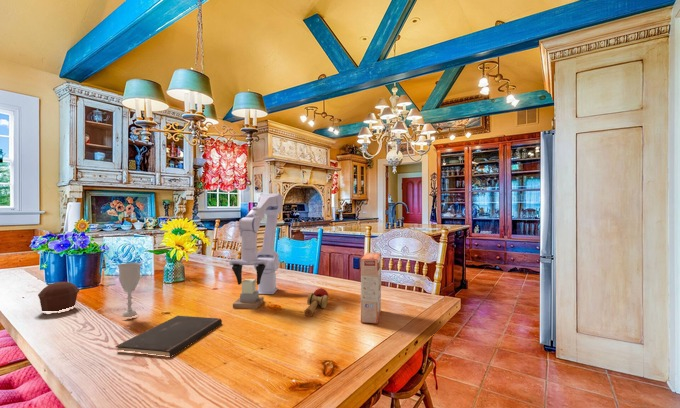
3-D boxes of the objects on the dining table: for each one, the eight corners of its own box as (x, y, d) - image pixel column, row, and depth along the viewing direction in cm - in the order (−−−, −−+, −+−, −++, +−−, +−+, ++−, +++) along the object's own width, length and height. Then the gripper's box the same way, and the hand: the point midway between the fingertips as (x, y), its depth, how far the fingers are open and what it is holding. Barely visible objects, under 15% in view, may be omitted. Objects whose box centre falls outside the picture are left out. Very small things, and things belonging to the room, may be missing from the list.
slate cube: (244, 297, 123) (244, 290, 123) (258, 297, 123) (258, 290, 123) (240, 302, 117) (240, 294, 117) (254, 302, 117) (254, 294, 117)
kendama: (321, 321, 106) (333, 299, 124) (317, 304, 105) (330, 284, 123) (300, 324, 108) (315, 301, 125) (296, 306, 107) (311, 286, 125)
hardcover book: (115, 355, 81) (115, 346, 81) (177, 322, 103) (177, 315, 103) (170, 360, 78) (170, 351, 78) (221, 325, 100) (221, 318, 100)
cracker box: (378, 324, 99) (378, 258, 100) (360, 323, 101) (359, 258, 101) (382, 310, 113) (381, 252, 113) (365, 309, 114) (365, 252, 115)
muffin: (71, 313, 110) (71, 285, 110) (30, 317, 106) (30, 288, 106) (84, 304, 121) (84, 278, 122) (47, 307, 117) (48, 280, 117)
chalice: (112, 319, 105) (112, 265, 105) (133, 313, 111) (134, 262, 111) (124, 322, 101) (125, 267, 101) (146, 316, 107) (146, 263, 108)
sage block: (245, 290, 122) (245, 279, 122) (255, 290, 122) (255, 279, 122) (241, 293, 118) (241, 281, 118) (252, 293, 118) (252, 281, 118)
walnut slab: (241, 302, 125) (241, 296, 125) (263, 303, 124) (263, 296, 124) (232, 310, 116) (232, 303, 116) (257, 310, 115) (257, 303, 115)
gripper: (226, 249, 116) (226, 286, 116) (265, 249, 116) (265, 286, 116) (233, 247, 124) (233, 281, 123) (269, 247, 123) (269, 282, 123)
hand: (249, 284), depth 120 cm, fingers open, 7 cm apart
